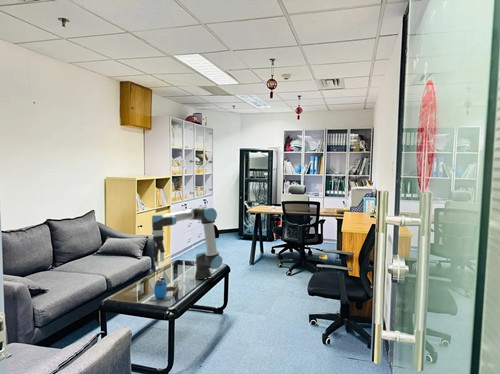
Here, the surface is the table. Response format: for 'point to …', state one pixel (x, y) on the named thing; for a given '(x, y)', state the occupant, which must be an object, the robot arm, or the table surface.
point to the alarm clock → (160, 288)
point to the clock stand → (173, 289)
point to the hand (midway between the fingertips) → (159, 263)
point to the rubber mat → (167, 298)
